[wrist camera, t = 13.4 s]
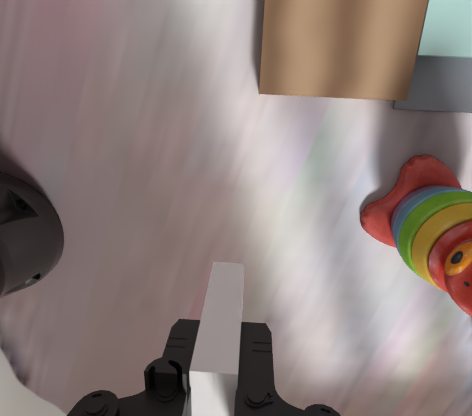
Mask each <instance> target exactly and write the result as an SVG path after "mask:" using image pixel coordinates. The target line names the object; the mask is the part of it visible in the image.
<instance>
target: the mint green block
mask: <svg viewBox="0 0 472 416" xmlns="http://www.w3.org/2000/svg"><path fill="white" fill-rule="evenodd" d="M416 56H434V57H462V58H472V0H428V3H427V7H426V12H425V17H424V21H423V26H422V31H421V35H420V40H419V45H418V50H417V54H416Z"/></svg>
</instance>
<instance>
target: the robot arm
mask: <svg viewBox="0 0 472 416" xmlns="http://www.w3.org/2000/svg"><path fill="white" fill-rule="evenodd" d="M63 245H64V237H63V230H62V227H61V223H60V221H59V218H58V216H57V214H56V213H55V211H54V209H53V208H52V206H51V205H50V204H49V202H48V201H47V200H46V199H45V198H44V197H43V196H42V195H41V194H40V193H39V192H38V191H37V190H35V189H34V188H33V187H31V186H30V185H28V184H27V183H25V182H23V181H21V180H19V179H17V178H15V177H12V176H9V175H6V174H2V173H0V298H2V297H4V296H7V295H9V294H12V293H14V292H16V291H19V290H21V289H24V288H26V287H29V286H31V285H33V284H35V283H37V282H38V281H40V280H41V279H42V278H44V277H45V276H46V275H47V274H48V273H49V272H50V271H51V270H52V269H53V268H54V267H55V266H56V264H57V263H58V261H59V259H60V257H61V255H62V251H63ZM243 284H244V264H243V263H225V262H213V266H212V270H211V275H210V280H209V284H208V289H207V293H206V298H205V302H204V307H203V311H202V316H201V320H188V319H179V320H178V321H177V322H176V323H175V324H174V325H173V326H172V328H171V331H170V334H169V337H168V340H167V343H166V347H165V349H164V353H163V356H162V357H161V358H159V359H156V360H154V361H153V362H151V363H150V364H149V365H148V366H147V367H146V369H145V371H144V378H145V389H146V390H144V391H143V392H141V393H139V394H136V395H133V396H129V397H125V398H120V399H118V398H117V397H116V395H115V394H114V393H112V392H110V391H105V390H99V391H95V392H92V393H90V394H88V395H86V396H84V397H83V398H82V399H81V400H80V401H79V402H78V403H77V404H76V405H75V406H74V407H73V409H72V410H71V411H70V412H69V414H68V415H67V416H340V414H339V413H338V412H336V411H335V410H334V409H332V408H331V407H328V406H326V405H323V404H314V405H311V406H308V407H307V408H306V409H305V410H302V409H299V408H297V407H294V406H292V405H290V404H288V403H286V402H285V401H284V400H282V399H281V397H280V396H279V395H278V394H277V392H276V390H275V385H274V371H273V354H272V337H271V331H270V330H269V328H268V326H267V325H266V323H251V322H242V306H243Z"/></svg>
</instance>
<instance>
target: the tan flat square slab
mask: <svg viewBox="0 0 472 416" xmlns="http://www.w3.org/2000/svg"><path fill="white" fill-rule="evenodd" d="M427 3H428V0H265V4H264V20H263V36H262V52H261V68H260V84H259V94H271V95H292V96H313V97H334V98H354V99H375V100H396V101H407V97H408V92H409V87H410V82H411V78H412V73H413V68H414V64H415V59H416V54H417V50H418V45H419V40H420V35H421V31H422V26H423V21H424V17H425V12H426V7H427Z"/></svg>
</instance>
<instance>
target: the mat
mask: <svg viewBox="0 0 472 416" xmlns="http://www.w3.org/2000/svg"><path fill="white" fill-rule="evenodd" d="M393 109H407V110H428V111H448V112H469V113H472V58H462V57H434V56H416V59H415V64H414V68H413V73H412V78H411V82H410V87H409V92H408V97H407V101H396V100H395V102H394V107H393Z"/></svg>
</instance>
